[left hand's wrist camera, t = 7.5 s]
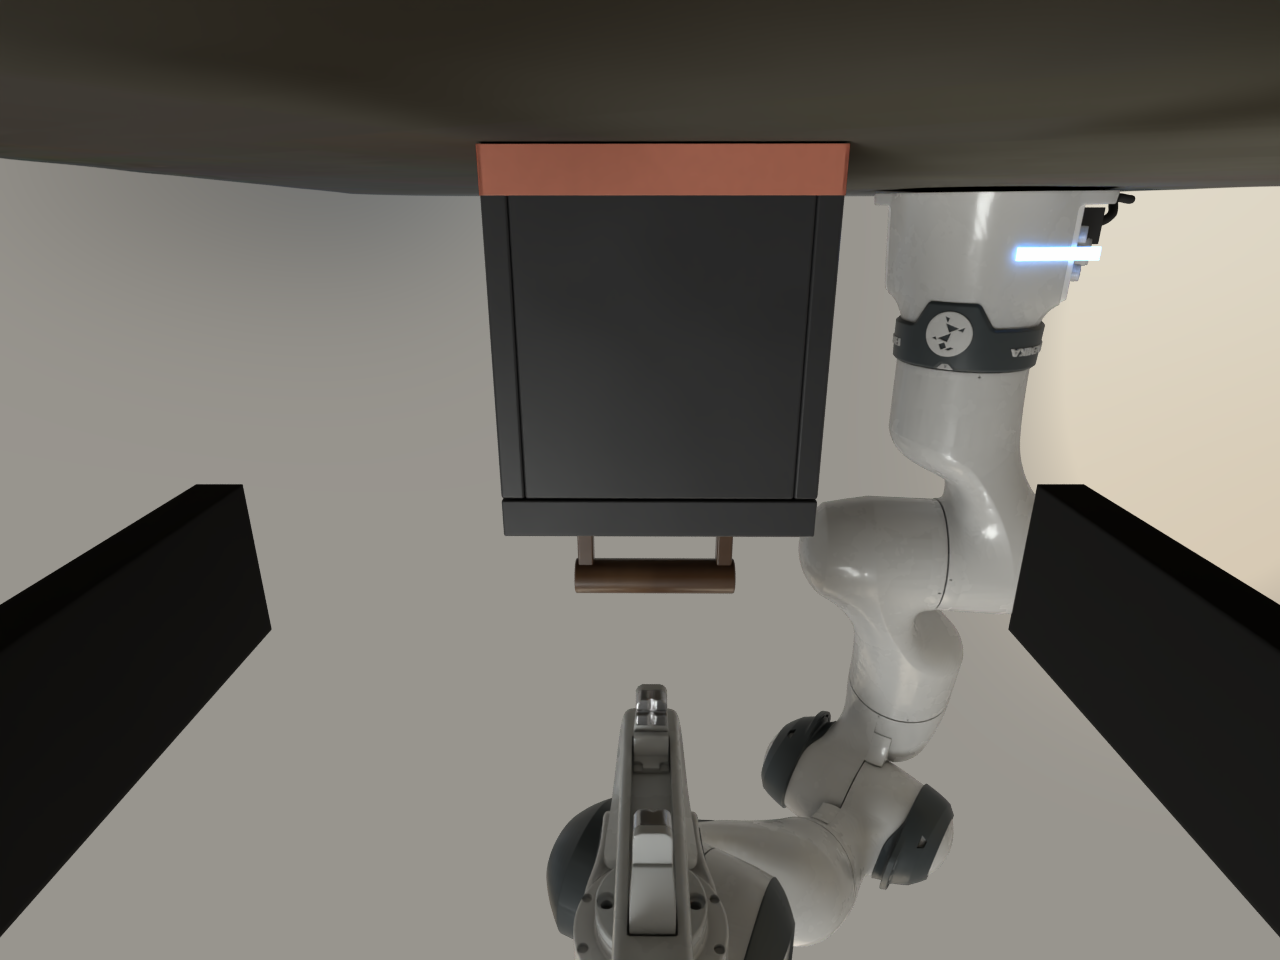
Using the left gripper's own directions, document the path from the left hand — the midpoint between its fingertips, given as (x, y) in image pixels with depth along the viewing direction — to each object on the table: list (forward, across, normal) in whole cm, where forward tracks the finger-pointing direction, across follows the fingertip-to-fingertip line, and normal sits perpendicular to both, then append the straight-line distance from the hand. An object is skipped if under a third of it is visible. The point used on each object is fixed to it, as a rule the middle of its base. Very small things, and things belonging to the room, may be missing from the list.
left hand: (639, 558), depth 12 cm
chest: (+16, -1, -7) cm, 18 cm away
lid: (+16, -1, +3) cm, 17 cm away
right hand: (+19, -1, +20) cm, 28 cm away
